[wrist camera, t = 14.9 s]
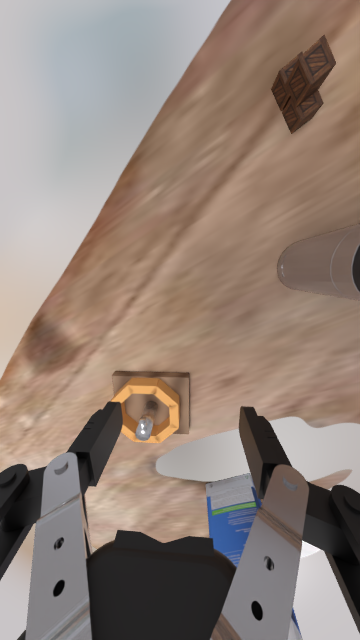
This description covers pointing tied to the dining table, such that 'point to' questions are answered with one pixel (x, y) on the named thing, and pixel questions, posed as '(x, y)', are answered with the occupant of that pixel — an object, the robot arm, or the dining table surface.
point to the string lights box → (236, 521)
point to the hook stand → (154, 401)
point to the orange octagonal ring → (159, 391)
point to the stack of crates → (303, 84)
